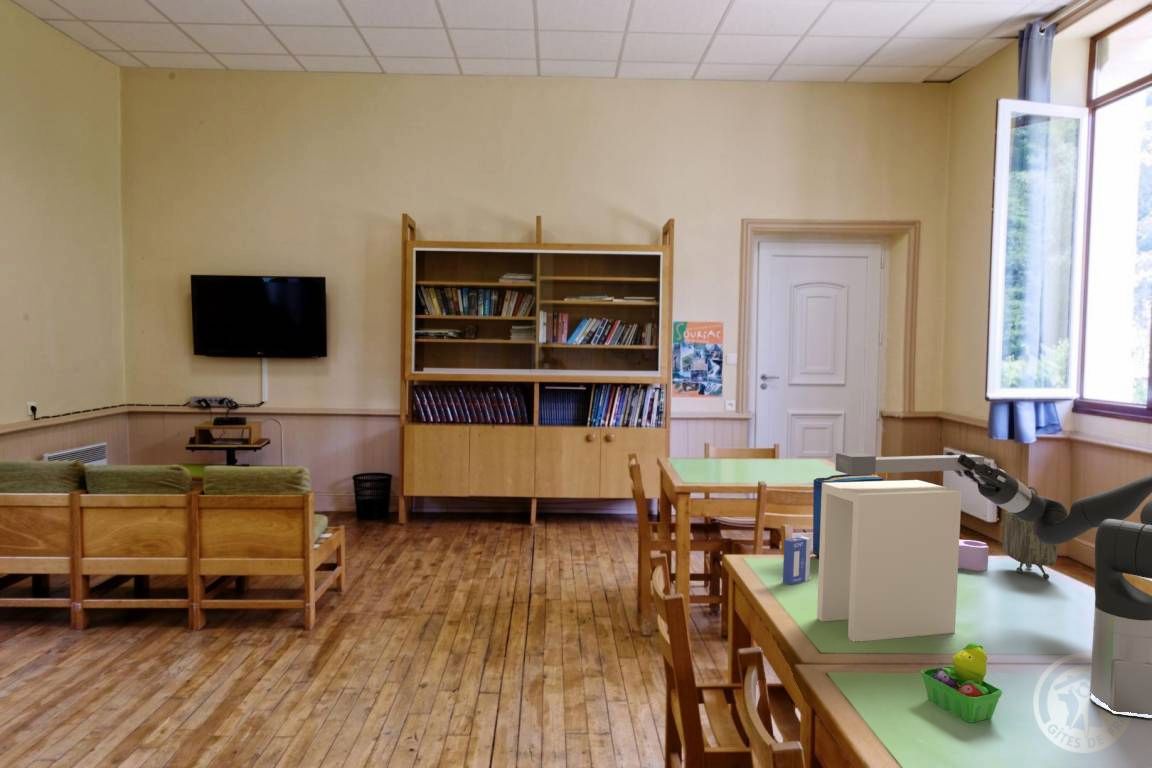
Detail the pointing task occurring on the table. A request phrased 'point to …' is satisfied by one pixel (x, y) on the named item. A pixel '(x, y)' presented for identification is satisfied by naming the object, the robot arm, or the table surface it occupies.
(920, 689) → the table surface
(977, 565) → the pink oval container
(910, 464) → the grey square-ended bar
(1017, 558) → the tabletop clock
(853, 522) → the stand
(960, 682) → the fruit basket
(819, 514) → the book
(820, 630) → the table surface
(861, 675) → the table surface
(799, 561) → the walkman
